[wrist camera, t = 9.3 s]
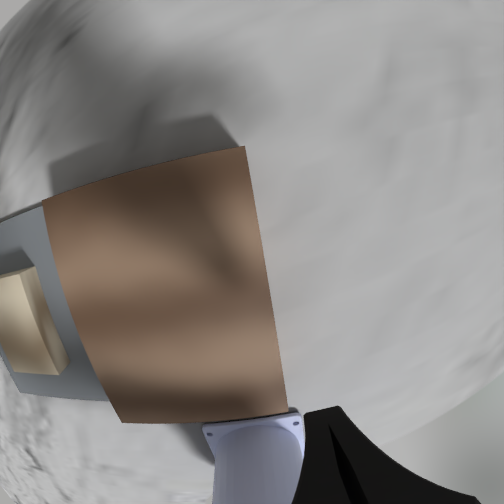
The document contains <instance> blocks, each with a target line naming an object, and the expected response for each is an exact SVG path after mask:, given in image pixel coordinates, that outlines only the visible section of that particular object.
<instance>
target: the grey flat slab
mask: <svg viewBox="0 0 504 504" xmlns="http://www.w3.org/2000/svg"><path fill="white" fill-rule="evenodd" d="M34 266H35V267H36V271H37V274H38V277H39V281H40V284H41V287H42V290H43V294H44V297H45V300H46V302H47V305H48V308H49V311H50V314H51V316H52V319H53V322H54V324H55V327H56V329H57V332H58V334H59V337H60V339H61V342H62V344H63V346H64V349H65V351H66V353H67V355H68V358H69V360H70V363H69V364H68V365H67V367H66V368H65V369H64V370H63V371H62V372H61V374H60V375H48V374H33V373H22V372H14V370H13V368H12V366H11V364H10V362H9V360H8V358H7V356H6V354H5V352H4V350H3V348H2V345H1V343H0V355H1V357H2V359H3V361H4V363H5V365H6V367H7V369H8V371H9V373H10V375H11V377H12V379H13V381H14V382H15V384H16V386H17V388H18V390H19V391H20V392H21V393H27V394H34V395H41V396H49V397H57V398H68V399H79V400H95V401H110V400H109V399H108V397H107V395H106V393H105V391H104V389H103V387H102V385H101V383H100V381H99V379H98V377H97V375H96V373H95V371H94V368H93V366H92V364H91V362H90V360H89V357H88V355H87V353H86V351H85V348H84V346H83V343H82V341H81V339H80V336H79V334H78V331H77V328H76V326H75V323H74V321H73V318H72V315H71V312H70V310H69V307H68V304H67V301H66V298H65V295H64V292H63V289H62V285H61V282H60V279H59V275H58V272H57V268H56V265H55V261H54V257H53V253H52V249H51V245H50V241H49V237H48V232H47V227H46V222H45V217H44V212H43V206H40V207H37V208H35V209H32V210H30V211H27V212H25V213H22V214H20V215H17V216H15V217H12V218H10V219H8V220H5V221H3V222H1V223H0V275H2V274H6V273H10V272H14V271H18V270H22V269H26V268H30V267H34Z"/></svg>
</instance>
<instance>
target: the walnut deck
mask: <svg viewBox="0 0 504 504" xmlns="http://www.w3.org/2000/svg"><path fill="white" fill-rule="evenodd" d="M42 206H43V212H44V217H45V222H46V227H47V232H48V237H49V241H50V245H51V249H52V253H53V257H54V261H55V265H56V268H57V272H58V275H59V279H60V282H61V285H62V289H63V292H64V295H65V298H66V301H67V304H68V307H69V310H70V312H71V315H72V318H73V321H74V323H75V326H76V328H77V331H78V334H79V336H80V339H81V341H82V343H83V346H84V348H85V351H86V353H87V355H88V357H89V360H90V362H91V364H92V366H93V368H94V371H95V373H96V375H97V377H98V379H99V381H100V383H101V385H102V387H103V389H104V391H105V393H106V395H107V397H108V399H109V400H110V402H111V404H112V406H113V408H114V410H115V411H116V413H117V415H118V417H119V418H120V420H121V422H122V423H147V424H167V423H196V422H211V421H223V420H233V419H242V418H250V417H258V416H265V415H271V414H277V413H283V412H289V410H288V404H287V397H286V390H285V384H284V378H283V371H282V365H281V358H280V352H279V346H278V339H277V333H276V327H275V321H274V315H273V308H272V302H271V296H270V290H269V284H268V278H267V272H266V266H265V260H264V254H263V248H262V242H261V236H260V230H259V224H258V219H257V213H256V207H255V201H254V195H253V190H252V184H251V178H250V172H249V167H248V161H247V156H246V150H245V146H241V147H235V148H230V149H224V150H219V151H214V152H209V153H204V154H199V155H194V156H190V157H185V158H181V159H176V160H172V161H168V162H164V163H160V164H156V165H152V166H148V167H144V168H141V169H137V170H133V171H130V172H126V173H123V174H119V175H116V176H112V177H109V178H106V179H102V180H99V181H96V182H93V183H90V184H87V185H84V186H81V187H78V188H75V189H72V190H69V191H66V192H63V193H61V194H58V195H55V196H53V197H50V198H47V199H45V200H42Z"/></svg>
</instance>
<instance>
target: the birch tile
mask: <svg viewBox="0 0 504 504" xmlns="http://www.w3.org/2000/svg"><path fill="white" fill-rule="evenodd" d="M0 343H1V345H2V348H3V350H4V352H5V354H6V356H7V358H8V360H9V362H10V364H11V366H12V368H13V370H14V372H22V373H33V374H48V375H60V374H61V372H62V371H63V370H64V369H65V368H66V367H67V365H68V364H69V363H70V360H69V358H68V355H67V353H66V351H65V349H64V346H63V344H62V342H61V339H60V337H59V334H58V332H57V329H56V327H55V324H54V322H53V319H52V316H51V314H50V311H49V308H48V305H47V302H46V300H45V297H44V294H43V290H42V287H41V284H40V281H39V277H38V274H37V271H36V267H35V266H34V267H30V268H26V269H22V270H18V271H14V272H10V273H6V274H2V275H0Z"/></svg>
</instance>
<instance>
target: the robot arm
mask: <svg viewBox="0 0 504 504" xmlns="http://www.w3.org/2000/svg"><path fill="white" fill-rule="evenodd" d="M303 416H304V425H305V444H304V435H303V425H302V417H301V414H300V413H290V414H284V415H279V416H272V417H266V418H259V419H252V420H244V421H235V422H225V423H213V424H205V425H203V427H202V431H203V433H204V436H205V438H206V440H207V442H208V445H209V447H210V449H211V451H212V453H213V455H214V458H215V472H214V485H213V499H212V504H481V503H480V502H479V501H478V500H477V498H476V497H474V496H470V495H466V494H462V493H459V492H456V491H453V490H450V489H447V488H444V487H442V486H439V485H437V484H435V483H432V482H430V481H428V480H426V479H424V478H422V477H420V476H418V475H416V474H414V473H413V472H411V471H409V470H408V469H406V468H404V467H403V466H402V465H400V464H399V463H397V462H396V461H394V460H393V459H392V458H390V457H389V456H388V455H386V454H385V453H384V452H383V451H382V450H380V449H379V448H378V447H377V446H376V445H375V444H374V443H372V442H371V441H370V440H369V439H368V438H367V437H366V436H365V435H364V434H363V433H362V432H361V431H360V430H359V429H358V428H357V427H356V425H355V424H354V423H353V422H352V421H351V420H350V419H349V417H348V416H347V415H346V414H345V412H344V411H343V410H342V408H341V407H340V406H334V407H330V408H326V409H322V410H317V411H313V412H308V413H306V414H304V415H303ZM296 421H297V422H296Z"/></svg>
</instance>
